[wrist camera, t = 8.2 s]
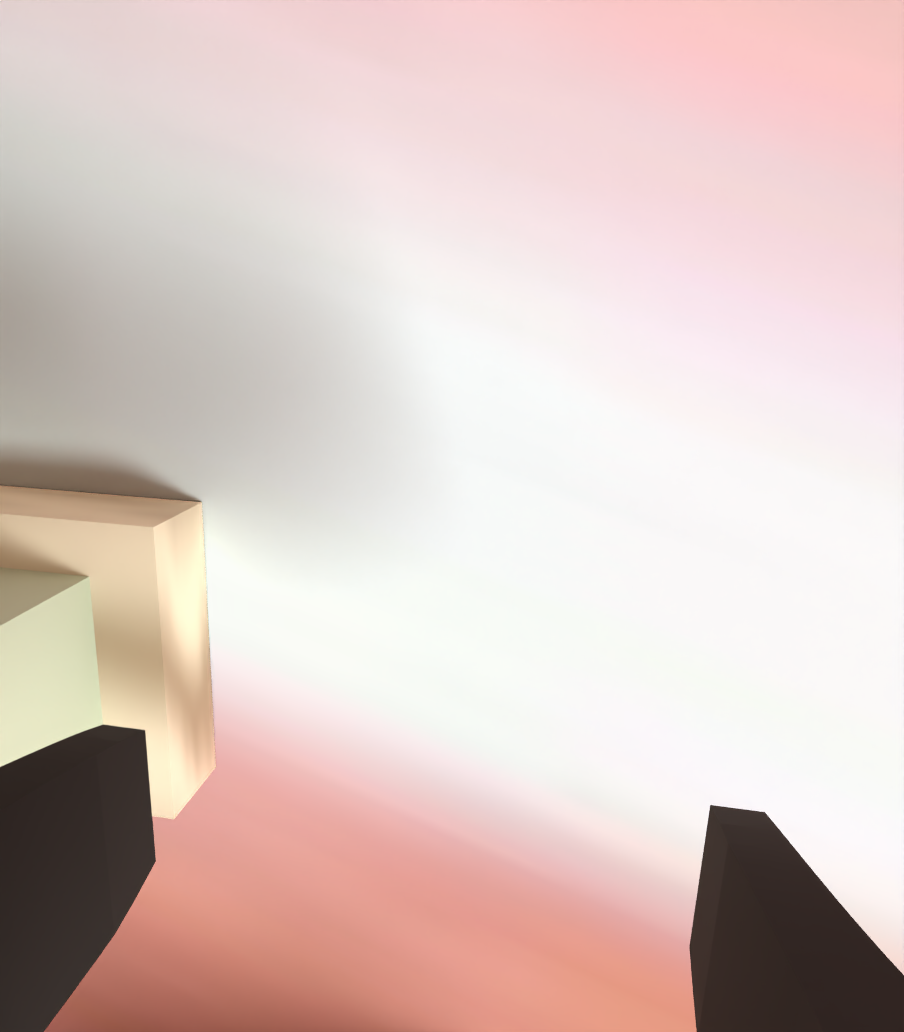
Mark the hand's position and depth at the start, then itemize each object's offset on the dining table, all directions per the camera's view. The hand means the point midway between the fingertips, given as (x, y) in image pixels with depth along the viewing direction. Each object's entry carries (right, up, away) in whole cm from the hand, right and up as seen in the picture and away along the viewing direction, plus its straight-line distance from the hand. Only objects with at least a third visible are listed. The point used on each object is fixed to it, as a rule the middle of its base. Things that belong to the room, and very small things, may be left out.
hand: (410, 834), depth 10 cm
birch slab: (-10, +1, +13) cm, 16 cm away
